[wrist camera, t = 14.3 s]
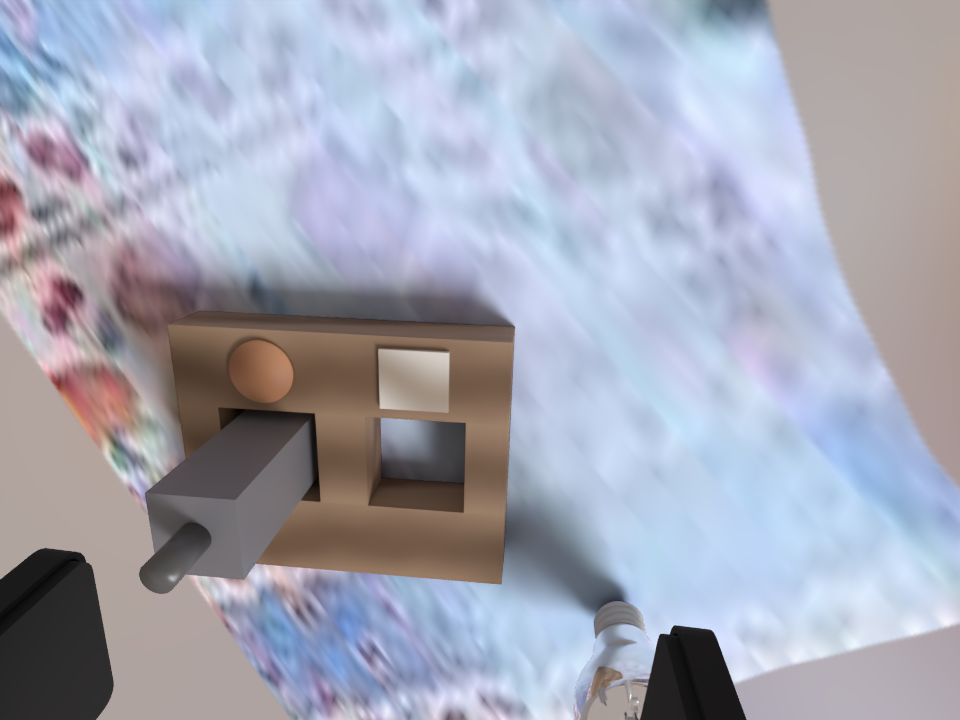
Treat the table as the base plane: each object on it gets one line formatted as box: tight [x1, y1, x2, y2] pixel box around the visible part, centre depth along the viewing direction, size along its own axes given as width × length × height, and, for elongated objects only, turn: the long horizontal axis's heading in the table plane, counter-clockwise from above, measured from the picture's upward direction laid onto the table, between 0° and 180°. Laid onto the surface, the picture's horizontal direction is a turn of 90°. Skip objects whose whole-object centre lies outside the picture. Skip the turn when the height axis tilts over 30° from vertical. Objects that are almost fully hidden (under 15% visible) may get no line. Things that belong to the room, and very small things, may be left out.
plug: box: [139, 409, 319, 594], centre depth 33 cm, size 4×4×15 cm
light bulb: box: [572, 601, 656, 720], centre depth 36 cm, size 7×7×12 cm
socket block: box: [167, 311, 515, 584], centre depth 38 cm, size 16×20×4 cm
